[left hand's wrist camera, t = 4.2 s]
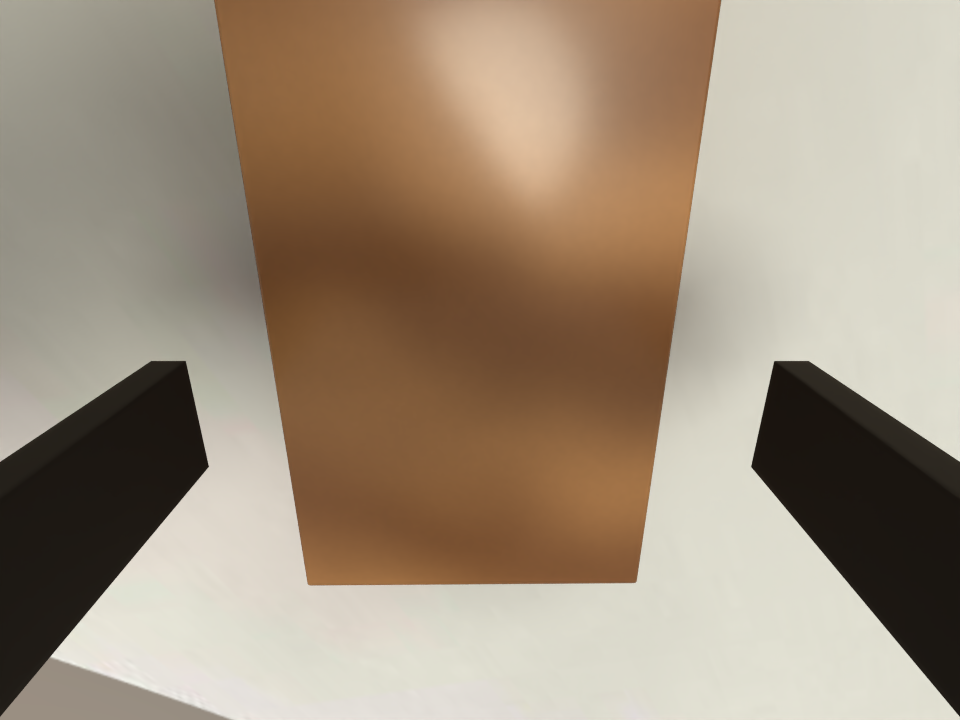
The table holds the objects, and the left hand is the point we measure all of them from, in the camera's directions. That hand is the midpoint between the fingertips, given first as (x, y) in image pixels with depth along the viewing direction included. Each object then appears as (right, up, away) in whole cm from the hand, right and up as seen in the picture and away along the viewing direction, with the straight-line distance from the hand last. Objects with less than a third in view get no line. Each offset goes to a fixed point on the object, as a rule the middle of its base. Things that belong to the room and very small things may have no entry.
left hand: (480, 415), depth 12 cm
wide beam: (0, +31, -3) cm, 31 cm away
